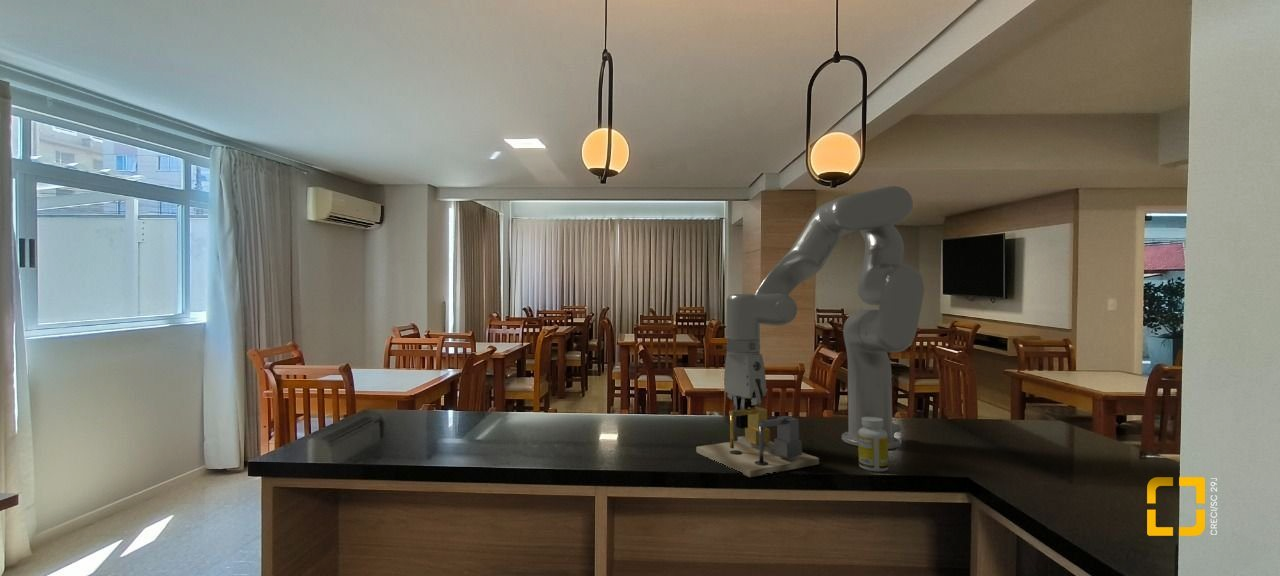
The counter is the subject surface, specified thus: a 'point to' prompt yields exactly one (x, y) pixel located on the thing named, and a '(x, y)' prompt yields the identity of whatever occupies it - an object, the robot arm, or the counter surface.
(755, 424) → the slider leg
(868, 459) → the supplement bottle
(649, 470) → the counter surface
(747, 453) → the board
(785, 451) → the fixed leg
